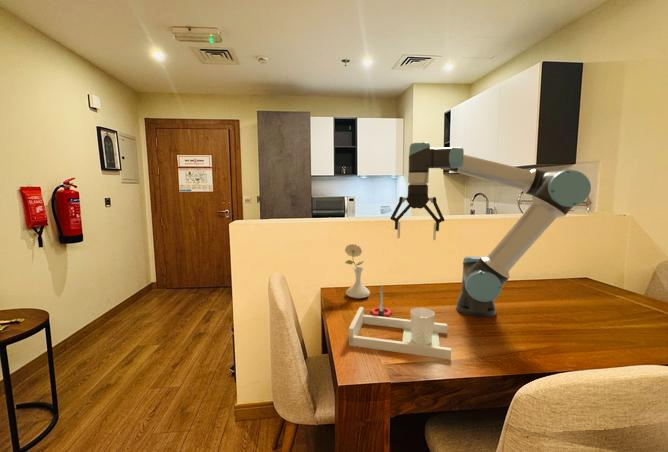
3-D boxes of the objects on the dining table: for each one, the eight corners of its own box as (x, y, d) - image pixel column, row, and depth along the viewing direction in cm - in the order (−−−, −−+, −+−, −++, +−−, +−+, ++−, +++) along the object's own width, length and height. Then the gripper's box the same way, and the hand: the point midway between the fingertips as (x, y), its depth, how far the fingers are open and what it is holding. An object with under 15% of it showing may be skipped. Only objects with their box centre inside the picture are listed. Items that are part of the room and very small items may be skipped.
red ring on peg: (371, 309, 138) (370, 317, 128) (372, 279, 136) (371, 285, 127) (391, 310, 136) (391, 318, 127) (391, 280, 135) (392, 286, 126)
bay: (446, 331, 116) (447, 316, 115) (450, 359, 97) (451, 341, 97) (359, 321, 124) (359, 306, 123) (348, 345, 106) (348, 328, 105)
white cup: (406, 335, 112) (407, 308, 111) (428, 334, 113) (429, 307, 112) (414, 346, 105) (415, 317, 103) (437, 345, 105) (438, 316, 104)
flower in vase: (374, 294, 154) (374, 243, 150) (363, 302, 144) (363, 248, 141) (350, 290, 160) (350, 241, 157) (338, 296, 151) (338, 244, 148)
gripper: (451, 184, 123) (449, 238, 126) (386, 184, 129) (385, 235, 132) (453, 184, 116) (450, 241, 118) (384, 184, 122) (383, 238, 125)
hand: (416, 238), depth 125 cm, fingers open, 13 cm apart
